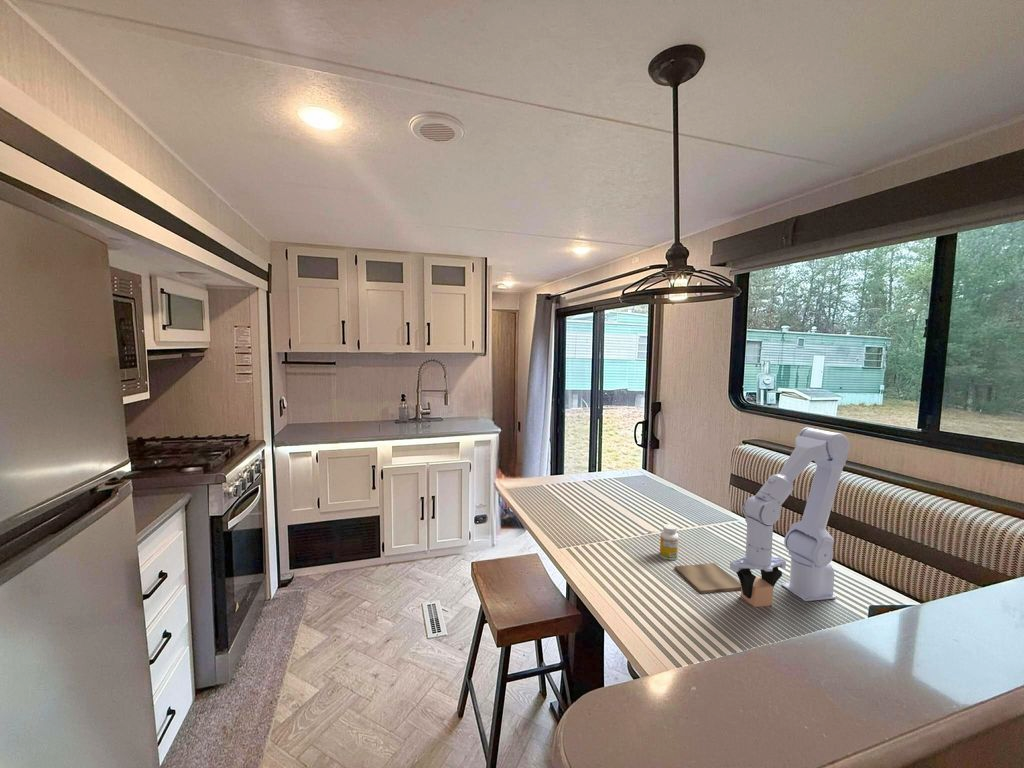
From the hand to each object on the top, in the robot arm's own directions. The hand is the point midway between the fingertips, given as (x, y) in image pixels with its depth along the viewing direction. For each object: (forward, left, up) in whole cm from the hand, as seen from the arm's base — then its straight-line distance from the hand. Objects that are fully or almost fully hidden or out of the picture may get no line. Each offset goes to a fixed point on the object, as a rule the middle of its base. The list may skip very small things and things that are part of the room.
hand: (756, 595), depth 108 cm
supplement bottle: (+10, -25, -2) cm, 27 cm away
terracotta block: (0, 0, -1) cm, 1 cm away
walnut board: (+6, -11, -1) cm, 13 cm away
